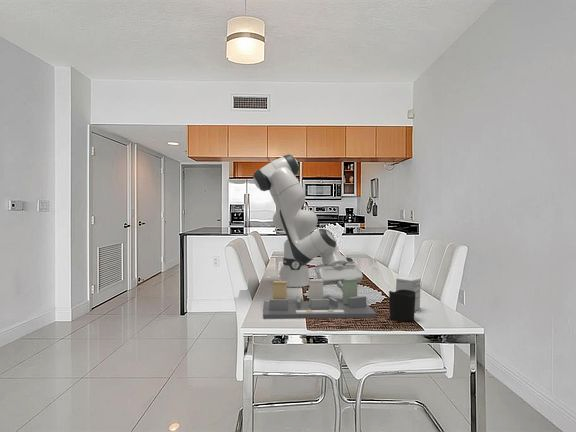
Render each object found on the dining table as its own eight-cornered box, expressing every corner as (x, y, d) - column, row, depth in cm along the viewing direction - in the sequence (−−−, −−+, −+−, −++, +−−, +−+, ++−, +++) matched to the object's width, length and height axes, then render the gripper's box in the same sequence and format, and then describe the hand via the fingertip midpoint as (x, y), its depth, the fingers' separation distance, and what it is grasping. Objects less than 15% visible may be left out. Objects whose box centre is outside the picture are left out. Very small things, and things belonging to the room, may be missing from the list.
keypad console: (263, 305, 181) (263, 291, 180) (363, 304, 183) (363, 291, 183) (263, 318, 160) (263, 303, 159) (376, 317, 162) (376, 302, 162)
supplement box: (395, 309, 175) (395, 278, 174) (403, 306, 180) (404, 275, 180) (412, 312, 170) (412, 280, 169) (420, 309, 175) (421, 277, 175)
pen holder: (415, 323, 155) (415, 295, 154) (388, 321, 157) (388, 293, 157) (415, 316, 164) (415, 290, 164) (389, 314, 166) (389, 288, 166)
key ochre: (273, 305, 172) (273, 280, 171) (286, 306, 171) (287, 281, 171) (272, 307, 168) (272, 282, 168) (285, 308, 168) (286, 282, 167)
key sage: (342, 303, 177) (342, 278, 177) (353, 301, 179) (353, 277, 179) (346, 304, 174) (346, 280, 174) (357, 303, 176) (357, 279, 176)
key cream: (308, 303, 175) (308, 279, 175) (321, 303, 176) (321, 279, 176) (310, 305, 172) (310, 280, 172) (323, 305, 173) (323, 280, 172)
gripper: (315, 260, 180) (327, 288, 172) (357, 258, 189) (370, 284, 180) (310, 269, 185) (321, 297, 176) (351, 267, 193) (363, 293, 185)
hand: (346, 291), depth 178 cm, fingers closed, pressing on key sage
